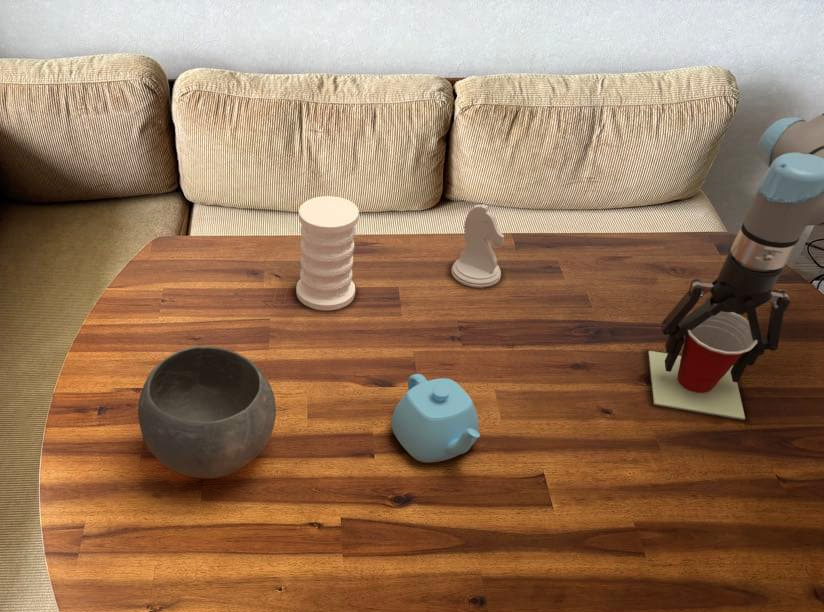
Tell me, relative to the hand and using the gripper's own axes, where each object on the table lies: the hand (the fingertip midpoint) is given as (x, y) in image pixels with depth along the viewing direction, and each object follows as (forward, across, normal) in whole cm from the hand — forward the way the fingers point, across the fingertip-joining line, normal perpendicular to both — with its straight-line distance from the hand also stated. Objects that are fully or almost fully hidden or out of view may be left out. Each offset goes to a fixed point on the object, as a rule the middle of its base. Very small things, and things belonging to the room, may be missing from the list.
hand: (700, 371), depth 130 cm
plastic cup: (+3, 0, 0) cm, 3 cm away
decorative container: (+3, -67, +10) cm, 68 cm away
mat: (+3, 0, 0) cm, 3 cm away
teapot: (+3, -41, -25) cm, 48 cm away
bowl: (+3, -75, -36) cm, 83 cm away
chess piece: (+3, -39, +24) cm, 46 cm away
